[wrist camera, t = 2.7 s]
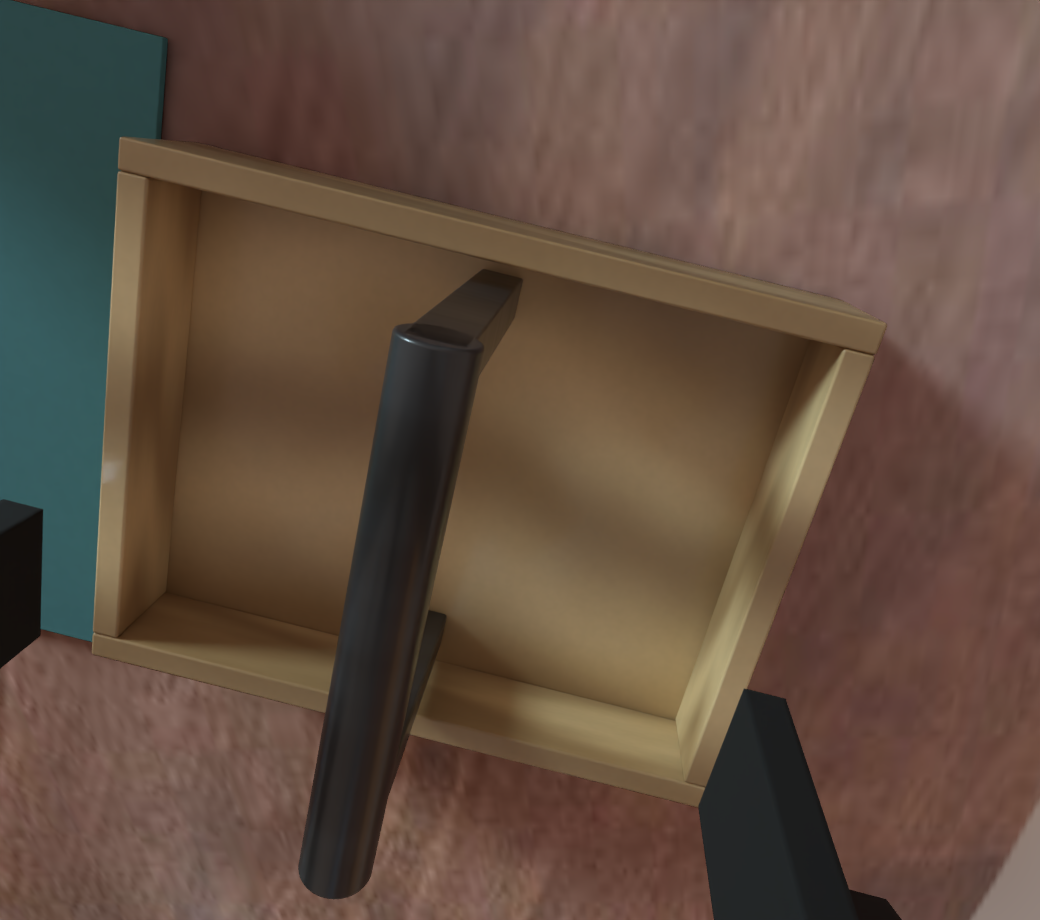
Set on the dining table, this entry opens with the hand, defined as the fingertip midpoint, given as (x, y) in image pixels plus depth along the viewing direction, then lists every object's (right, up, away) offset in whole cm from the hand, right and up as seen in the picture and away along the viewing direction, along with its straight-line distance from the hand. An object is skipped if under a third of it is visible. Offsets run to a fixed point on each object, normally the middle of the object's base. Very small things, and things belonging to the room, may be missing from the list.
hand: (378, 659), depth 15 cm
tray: (+1, +4, +11) cm, 12 cm away
